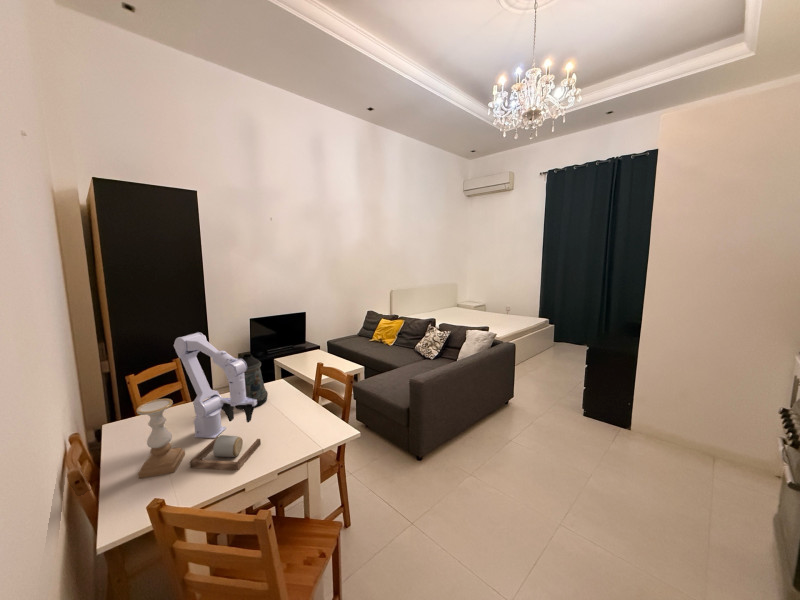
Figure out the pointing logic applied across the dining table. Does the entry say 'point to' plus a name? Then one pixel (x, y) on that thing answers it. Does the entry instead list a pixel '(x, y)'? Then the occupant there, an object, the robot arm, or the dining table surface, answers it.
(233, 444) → the ceramic mug
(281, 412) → the dining table surface
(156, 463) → the candle holder
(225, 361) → the robot arm
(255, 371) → the beer stein
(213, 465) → the walnut dock
